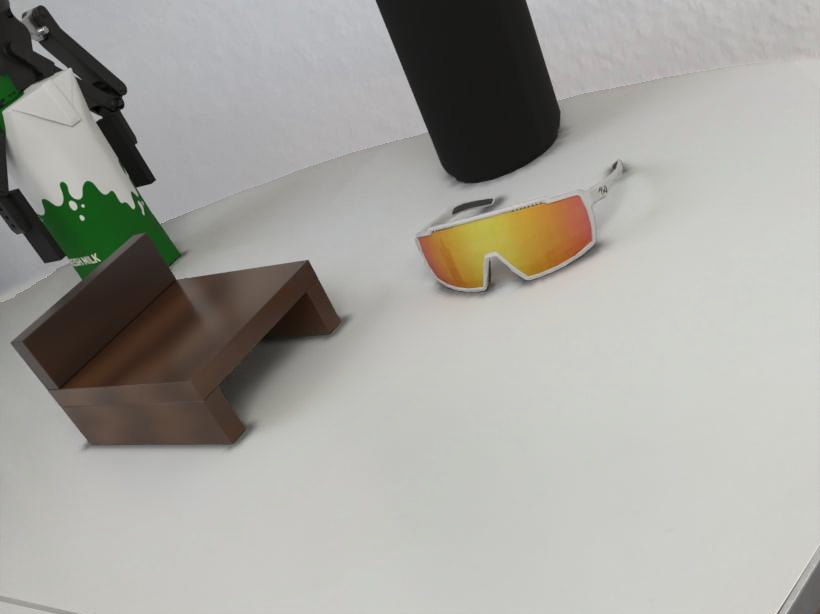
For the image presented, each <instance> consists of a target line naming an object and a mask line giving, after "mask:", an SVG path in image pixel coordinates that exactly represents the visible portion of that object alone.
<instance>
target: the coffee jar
mask: <svg viewBox="0 0 820 614" xmlns="http://www.w3.org/2000/svg"><path fill="white" fill-rule="evenodd" d="M374 1H375V3H376V6H377V8H378V12H379V13H380V16H381V18H382V20H383V23H384V25H385V28H386V30H387V33H388V36H389V38H390V40H391V43H392V46H393V48H394V50H395V53H396V55H397V58H398V60H399V62H400V65H401V67H402V71H403V72H404V75H405V78H406V80H407V83H408V86H409V88H410V90H411V92H412V95H413V99H414V100H415V104H416V105H417V107H418V110H419V112H420V115H421V117H422V120H423V123H424V125H425V128H426V130H427V132H428V135H429V137H430V140H431V143H432V145H433V147H434V150H435V152H436V154H437V158H438V160H439V162H440V164H441V165H440V166H441V167H442V168H443V169H444V171H445V172H446V173H447V174H448V175H449V176H451V177H453V178H454V179H455V180H456V181H458V182H460V183H465V184H472V183H473V184H474V183H482V182H486V181H489V180H494V179H496V178H499V177H502V176H505V175H507V174H510V173H512V172H514V171H516V170H519V169H520V168H522V167H524V166H526V165H528V164H529V163H531V162H532V161H534V160H535V159H537V158H538V157H540V156H542V155H543V154H544V153H545V152H546V151H547V150H548V149H550V148H551V146H552V145H554V143H555V141H556V140H557V138H558V135H559V129H560V125H561V113H562V112H561V109H560V106H559V103H558V99H557V96H556V92H555V90H554V86H553V83H552V79H551V76H550V73H549V70H548V67H547V64H546V63H547V62H546V59H545V57H544V54H543V51H542V47H541V44H540V42H539V37H538V34H537V32H536V28H535V25H534V22H533V18H532V15H531V11H530V9H529V5H528V1H527V0H374Z"/></svg>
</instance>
